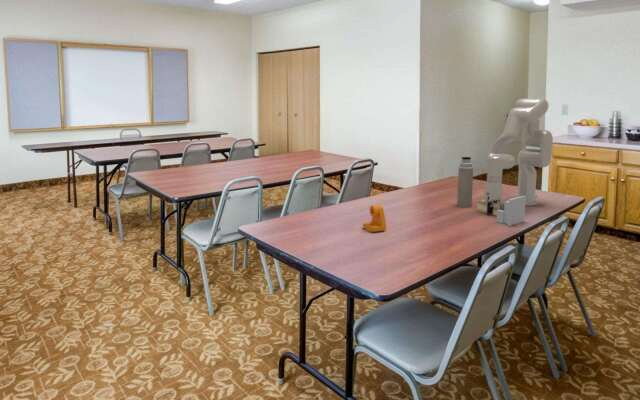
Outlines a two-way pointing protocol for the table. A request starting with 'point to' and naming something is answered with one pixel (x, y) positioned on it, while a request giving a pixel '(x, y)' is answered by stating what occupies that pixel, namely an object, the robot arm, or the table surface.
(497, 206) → the tan and gray block
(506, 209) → the gray forked clamp
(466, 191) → the thermos bottle
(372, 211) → the bracket
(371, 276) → the table surface
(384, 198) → the table surface
